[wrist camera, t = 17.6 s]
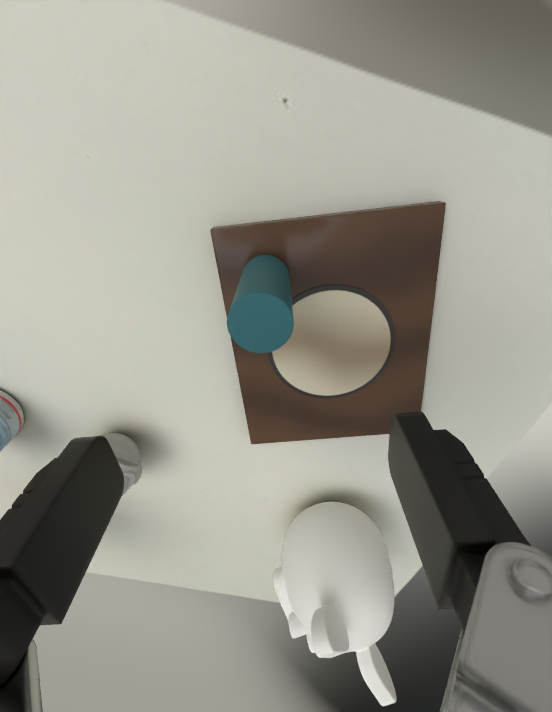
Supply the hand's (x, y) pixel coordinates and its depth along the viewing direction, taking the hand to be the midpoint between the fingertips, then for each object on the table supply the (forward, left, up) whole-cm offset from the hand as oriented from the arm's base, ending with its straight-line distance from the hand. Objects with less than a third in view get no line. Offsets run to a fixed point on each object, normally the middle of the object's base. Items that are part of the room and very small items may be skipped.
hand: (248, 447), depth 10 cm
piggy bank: (+30, +3, -19) cm, 35 cm away
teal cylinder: (0, 0, -18) cm, 18 cm away
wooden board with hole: (+7, +4, -19) cm, 20 cm away
